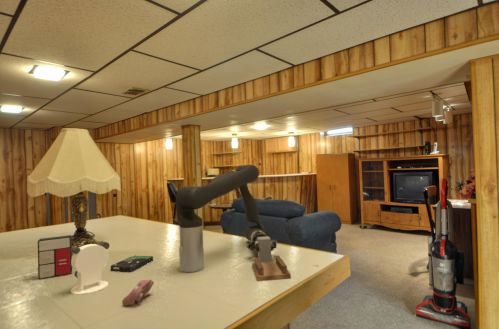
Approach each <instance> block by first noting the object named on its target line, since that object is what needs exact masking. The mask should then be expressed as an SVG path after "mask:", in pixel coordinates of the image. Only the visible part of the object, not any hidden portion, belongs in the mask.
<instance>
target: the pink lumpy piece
mask: <svg viewBox="0 0 499 329" xmlns="http://www.w3.org/2000/svg"><path fill="white" fill-rule="evenodd" d="M153 286H154V281H153V280H152V279H149V278H146V279H143V280H141V281H139V282H138V283H137V284H136V285H135V287H133V289H132V290H131V291H130V292H129V293H128V294H127V295H126V296H125V297H124V298H122V302H121V303H122V306H124V307H127V306H130V305H132V304H134V302H135V303H137V304H138V303H139V302H140V301H141V299H143V298H145V297H146V296H147V295H148V293H149V291H150V290H151V289H152V287H153Z"/></svg>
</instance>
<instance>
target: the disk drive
mask: <svg viewBox="0 0 499 329" xmlns="http://www.w3.org/2000/svg"><path fill="white" fill-rule="evenodd" d="M151 261H153V262H154V256H153V255H132V256H130V257H127V258H124V259H123V260H120V261H118V262H115V263H114V264H111V265H110V272H118V271H119V273H120V272H121V273H134V272H135V271H137V270H139V269H141V268H142V266H143V267H144V265H145V266H147V265H148V264H147V263H149V262H151ZM151 263H152V262H151ZM146 264H147V265H146ZM149 264H150V263H149Z"/></svg>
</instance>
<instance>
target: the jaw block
mask: <svg viewBox="0 0 499 329" xmlns="http://www.w3.org/2000/svg"><path fill="white" fill-rule="evenodd" d="M271 241H272V239H271V237H270V236H268V235H266V237H257V244H258V246H259V252H258V251H257V257H258V258H259V260H260V262H261V263H262V262H273V261H272V251H271Z"/></svg>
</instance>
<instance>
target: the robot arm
mask: <svg viewBox="0 0 499 329" xmlns="http://www.w3.org/2000/svg"><path fill="white" fill-rule="evenodd" d="M259 175H260V170H259V168H258V167H257V166H256V165H255V164H244V165H239V166H237V168H236V169H235V171H230V172H225V173H221V174H219V175H217V176H215V177H213V179H212V180H211V181H210V182H209V183H207V184H204V185H200V186H181V187H180V188H179V189H178V190H177V192H176V196H175V208H176V218H177V221H178V223H179V224H178V225H179V248H178V251H179V252H178V253H179V272H184V273H194V272H195V273H196V272H199V271H202V270H203V269H205V261H204V258H205V257H204V233H203V232H204V230H203V226H204V225H203V218H202V217H200V216H199V215H198V214H197V213H196V212H195V210H200V209H202V208H204V207H205V206H206V205H208V204H209V203H211V202H212V201H214V200H216V199H219V198H220V197H222V196H225V195H227V194H229V193H231V192H233V191H235V190H237V189H239V192H240V195H241V198H242V203H243V206H244V212H245V220H246V221H247V222H248V223H255V224H256V225H251V226H250V225H249V226H247V227H246V228H245V230H244V236H245V237H246V239H247V240H246V248H248V249H249V250H250V251H253V250H255V252H257V253H258V252H259V246H258V244H257V237H266V236H267V234H266V230H265V228H264V225H263V224H262V221H261V218H260V213H259V212H260V211H259V207H258V206H259V205H258V203H257V201H256V199H255V198H254V196H253V195H252V193H251V191H250V190H249V186H248V184H250V183H254V182H256V181H257V180H258V178H259ZM275 249H277V239H272V240H271V252H273V251H274V250H275Z"/></svg>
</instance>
